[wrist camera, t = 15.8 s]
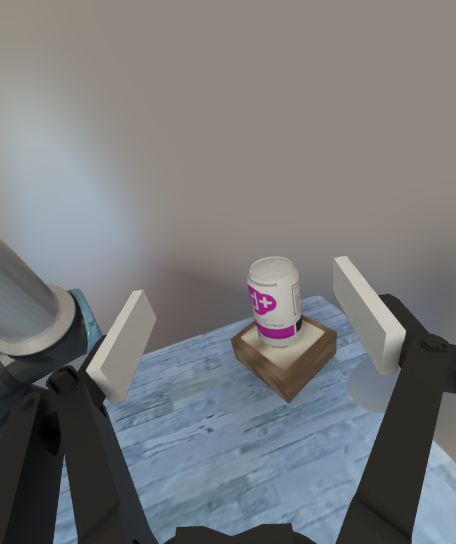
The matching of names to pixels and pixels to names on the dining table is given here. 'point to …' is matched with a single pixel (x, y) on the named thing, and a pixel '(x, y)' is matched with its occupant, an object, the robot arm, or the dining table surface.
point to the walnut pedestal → (286, 357)
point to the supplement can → (276, 301)
